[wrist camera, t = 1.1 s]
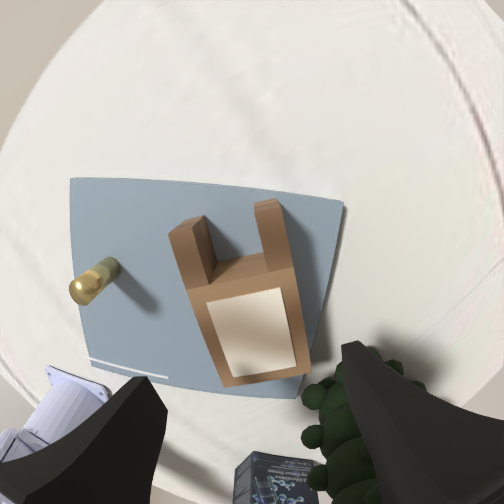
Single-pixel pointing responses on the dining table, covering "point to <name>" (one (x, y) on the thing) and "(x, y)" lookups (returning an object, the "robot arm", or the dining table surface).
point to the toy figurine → (341, 443)
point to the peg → (94, 281)
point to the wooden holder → (245, 301)
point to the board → (169, 278)
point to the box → (273, 481)
